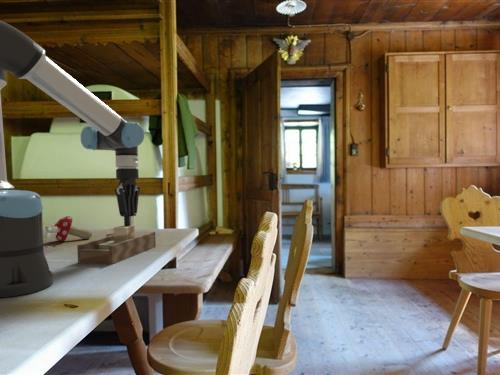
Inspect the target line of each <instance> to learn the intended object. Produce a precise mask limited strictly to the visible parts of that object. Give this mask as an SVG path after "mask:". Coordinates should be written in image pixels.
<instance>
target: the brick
mask: <svg viewBox="0 0 500 375" xmlns="http://www.w3.org/2000/svg"><path fill="white" fill-rule="evenodd" d="M112 235H114V227H111V228H109V229H108V231H107V232H106V234H105V236H106V237H109V236H112Z"/></svg>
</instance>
